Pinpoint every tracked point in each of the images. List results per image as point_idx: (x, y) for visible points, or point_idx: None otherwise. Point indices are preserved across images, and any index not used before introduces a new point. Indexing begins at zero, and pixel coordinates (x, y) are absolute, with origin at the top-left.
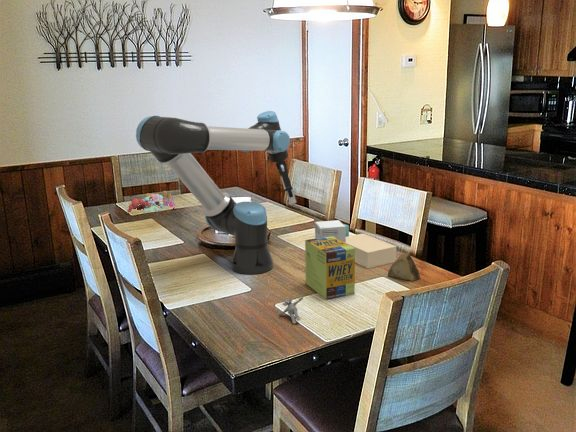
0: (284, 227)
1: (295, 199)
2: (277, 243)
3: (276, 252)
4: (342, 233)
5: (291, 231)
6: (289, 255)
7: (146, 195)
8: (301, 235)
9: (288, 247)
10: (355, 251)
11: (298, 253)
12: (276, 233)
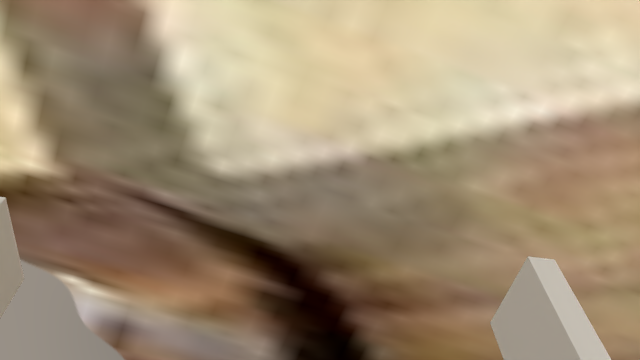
0: (27, 63)
1: (577, 303)
2: (365, 221)
3: None
4: None
5: (134, 48)
6: (631, 234)
7: None
8: (251, 12)
9: (475, 187)
10: None
11: (627, 171)
12: (153, 159)
